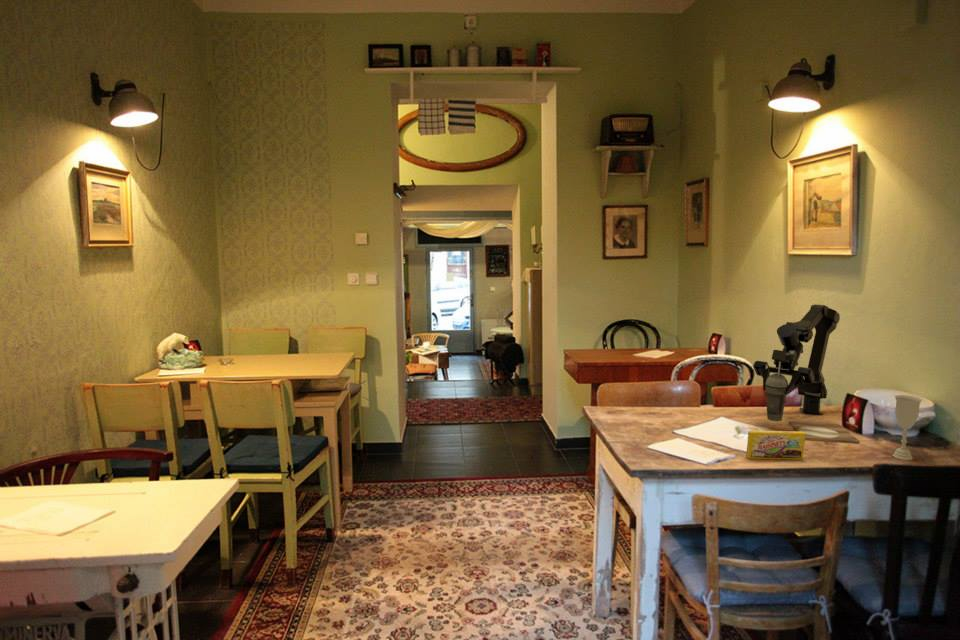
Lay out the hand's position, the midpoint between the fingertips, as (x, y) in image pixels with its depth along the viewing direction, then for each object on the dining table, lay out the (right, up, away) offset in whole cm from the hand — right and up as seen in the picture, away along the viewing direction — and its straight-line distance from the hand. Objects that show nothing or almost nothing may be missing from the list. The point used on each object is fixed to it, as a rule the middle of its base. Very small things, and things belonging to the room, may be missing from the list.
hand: (774, 392), depth 218 cm
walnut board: (+16, -13, 0) cm, 21 cm away
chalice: (+27, -17, -24) cm, 40 cm away
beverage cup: (+1, -10, +2) cm, 10 cm away
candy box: (-12, -17, -26) cm, 33 cm away
